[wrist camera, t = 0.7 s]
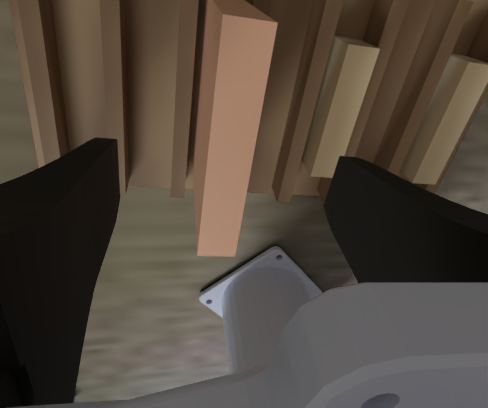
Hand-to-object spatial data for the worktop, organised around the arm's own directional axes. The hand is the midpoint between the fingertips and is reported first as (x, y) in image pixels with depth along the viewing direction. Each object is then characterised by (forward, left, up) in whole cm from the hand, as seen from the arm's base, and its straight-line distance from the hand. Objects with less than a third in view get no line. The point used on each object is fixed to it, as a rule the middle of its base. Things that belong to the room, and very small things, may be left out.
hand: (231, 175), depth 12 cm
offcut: (-5, -5, -10) cm, 12 cm away
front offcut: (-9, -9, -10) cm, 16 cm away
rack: (-2, -2, -10) cm, 11 cm away
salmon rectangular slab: (0, 0, -10) cm, 10 cm away
